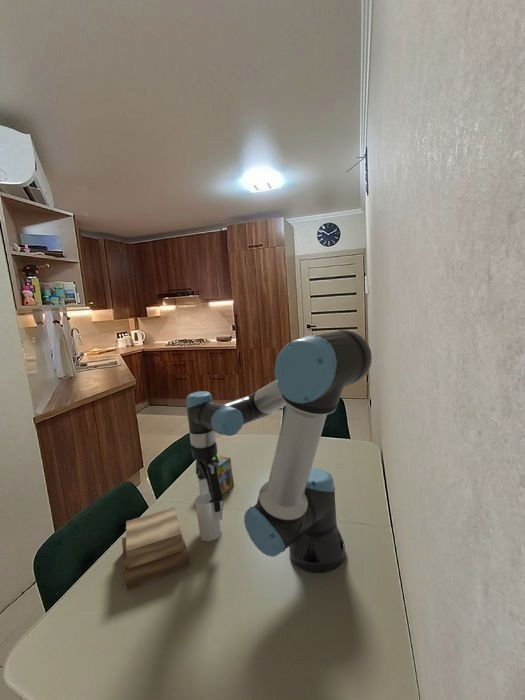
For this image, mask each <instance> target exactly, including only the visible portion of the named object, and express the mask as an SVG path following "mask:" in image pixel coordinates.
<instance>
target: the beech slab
mask: <svg viewBox="0 0 525 700" xmlns="http://www.w3.org/2000/svg"><path fill="white" fill-rule="evenodd" d="M125 525H126V526H125V530H126V531H125V537H126V554H127V560H128V567H129V568H132V567H135V566H138V565H141V564H144V563H147V562H150V561H153V560H156V559H159V558H162V557H165V556H168V555H171V554H174V553H177V552H180V551H183V543H182V536H183V534H182V531H181V528H180V523H179V519H178V515H177V511H176V508H175V507H171V508H169V509H164V510H161V511H157V512H154V513H151V514H148V515H147V514H146V515H143V516H140V517H135V518H133V519H130V520H126V523H125ZM181 534H182V535H181Z"/></svg>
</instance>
